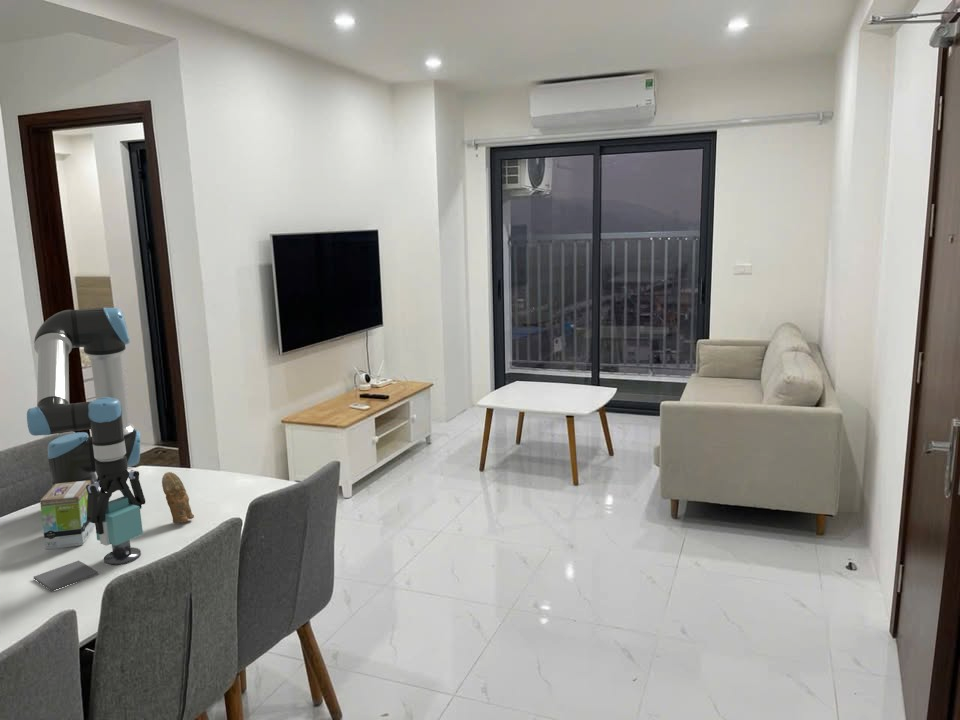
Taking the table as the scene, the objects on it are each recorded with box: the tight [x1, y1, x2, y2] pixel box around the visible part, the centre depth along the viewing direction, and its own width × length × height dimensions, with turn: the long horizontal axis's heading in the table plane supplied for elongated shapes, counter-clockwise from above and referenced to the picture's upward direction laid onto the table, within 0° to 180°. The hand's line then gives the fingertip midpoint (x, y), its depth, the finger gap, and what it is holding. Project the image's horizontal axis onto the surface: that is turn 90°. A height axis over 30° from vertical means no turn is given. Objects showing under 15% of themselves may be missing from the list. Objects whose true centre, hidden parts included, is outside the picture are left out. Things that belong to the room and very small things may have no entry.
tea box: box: [39, 480, 95, 550], centre depth 204 cm, size 15×10×15 cm
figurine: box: [161, 471, 195, 524], centre depth 215 cm, size 8×8×15 cm
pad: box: [33, 559, 99, 592], centre depth 181 cm, size 11×11×1 cm
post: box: [103, 539, 142, 566], centre depth 191 cm, size 9×9×9 cm
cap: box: [95, 496, 144, 546], centre depth 190 cm, size 8×8×10 cm
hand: (120, 537), depth 191 cm, fingers closed on cap, 8 cm apart
